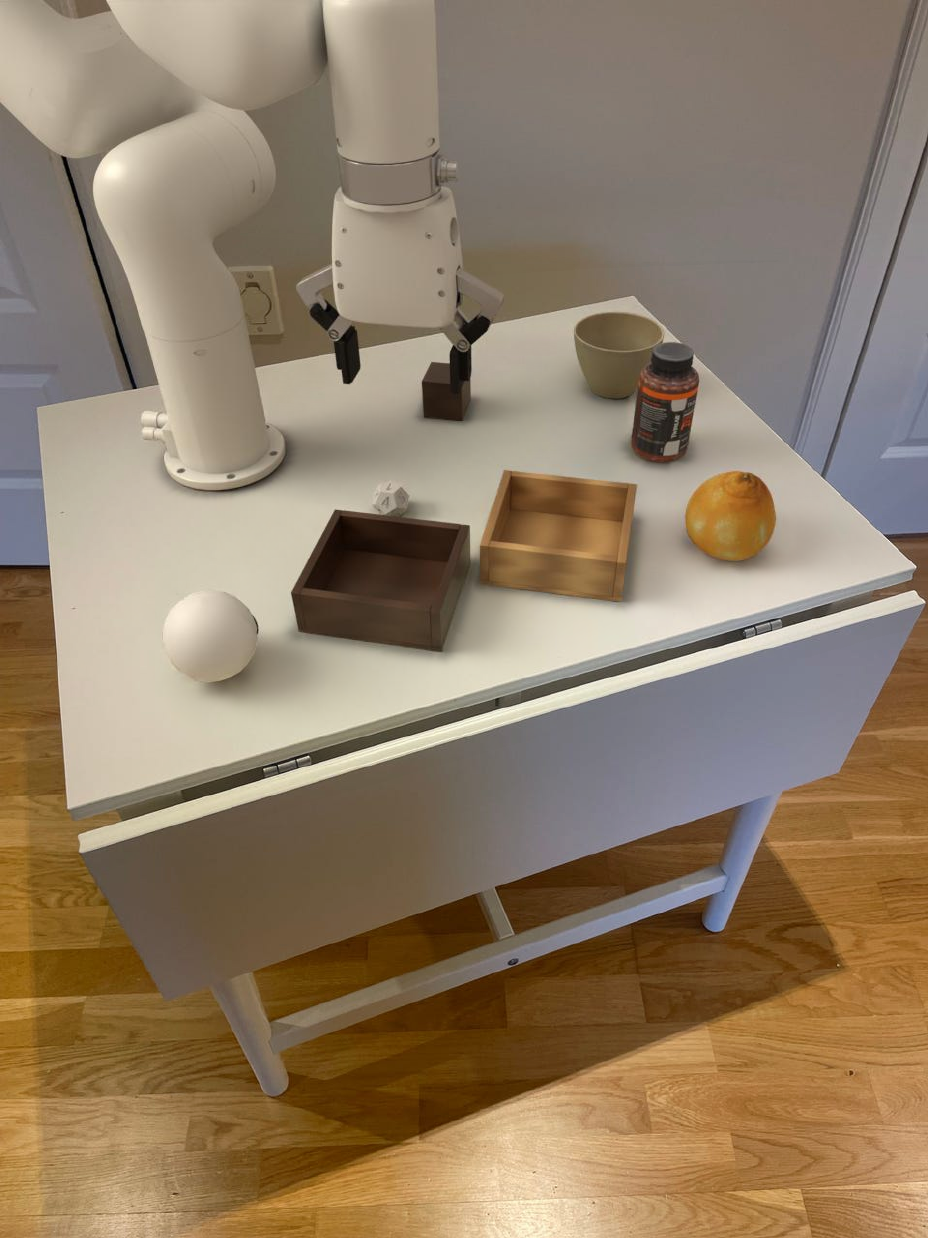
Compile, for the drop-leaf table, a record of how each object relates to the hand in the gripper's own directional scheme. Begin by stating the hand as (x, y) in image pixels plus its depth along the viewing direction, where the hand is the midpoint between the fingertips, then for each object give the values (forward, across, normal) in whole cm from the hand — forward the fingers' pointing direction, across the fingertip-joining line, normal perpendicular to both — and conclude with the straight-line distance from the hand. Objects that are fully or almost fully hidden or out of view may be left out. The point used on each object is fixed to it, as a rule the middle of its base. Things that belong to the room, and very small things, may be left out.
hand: (404, 381), depth 80 cm
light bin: (+14, -15, +4) cm, 21 cm away
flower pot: (+14, -17, -27) cm, 35 cm away
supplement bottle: (+14, -23, -15) cm, 31 cm away
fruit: (+14, -30, 0) cm, 33 cm away
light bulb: (+14, +11, +22) cm, 29 cm away
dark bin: (+14, -1, +13) cm, 19 cm away
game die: (+14, +2, 0) cm, 15 cm away
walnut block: (+14, +1, -20) cm, 24 cm away
